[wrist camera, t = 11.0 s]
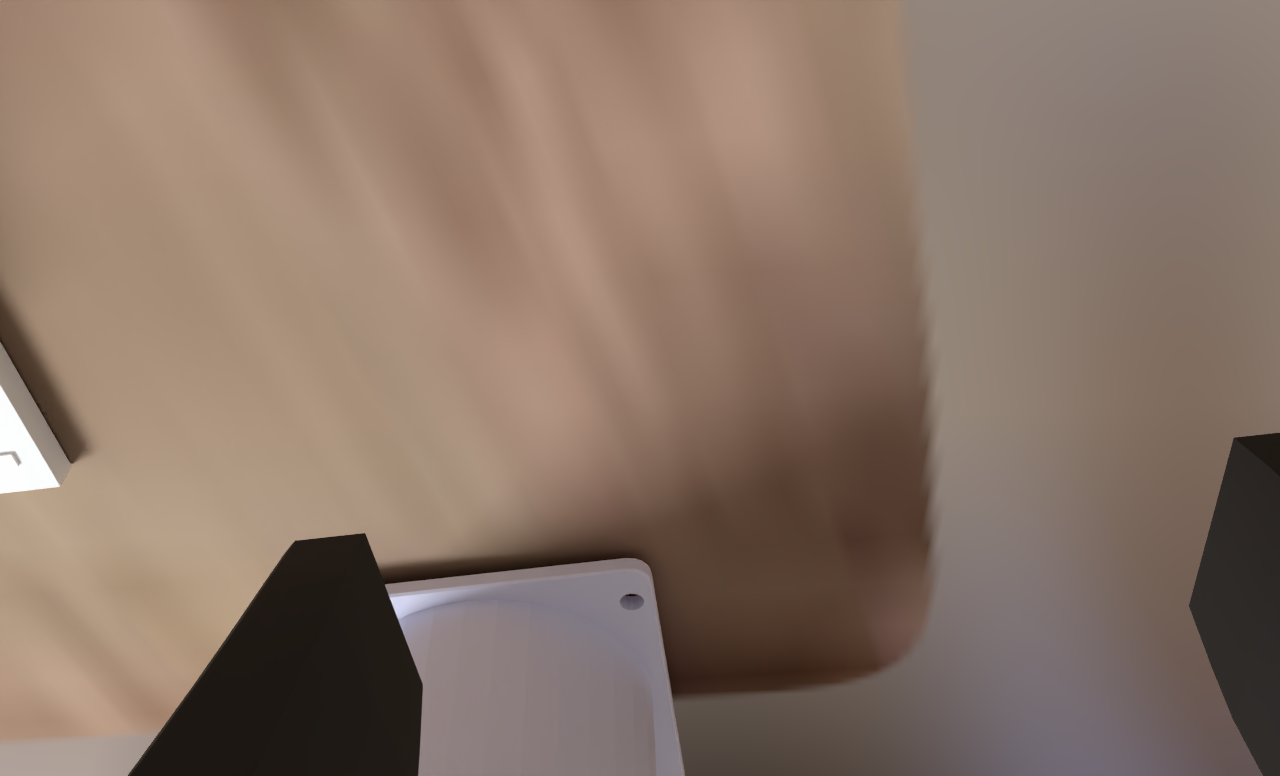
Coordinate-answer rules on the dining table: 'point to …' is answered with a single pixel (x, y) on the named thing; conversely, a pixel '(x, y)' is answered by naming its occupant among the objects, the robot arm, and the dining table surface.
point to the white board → (25, 438)
